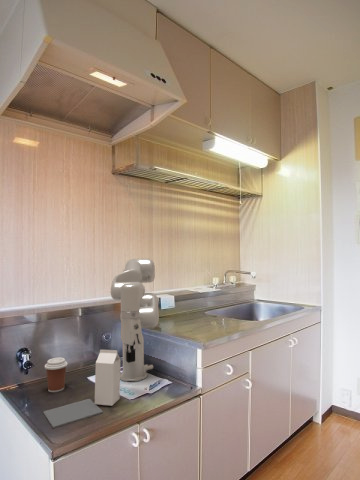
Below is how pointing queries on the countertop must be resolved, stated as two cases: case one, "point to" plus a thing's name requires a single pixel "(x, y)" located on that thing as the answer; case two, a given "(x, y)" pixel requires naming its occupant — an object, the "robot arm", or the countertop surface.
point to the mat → (72, 412)
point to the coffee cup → (56, 374)
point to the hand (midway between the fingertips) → (130, 361)
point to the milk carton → (107, 378)
